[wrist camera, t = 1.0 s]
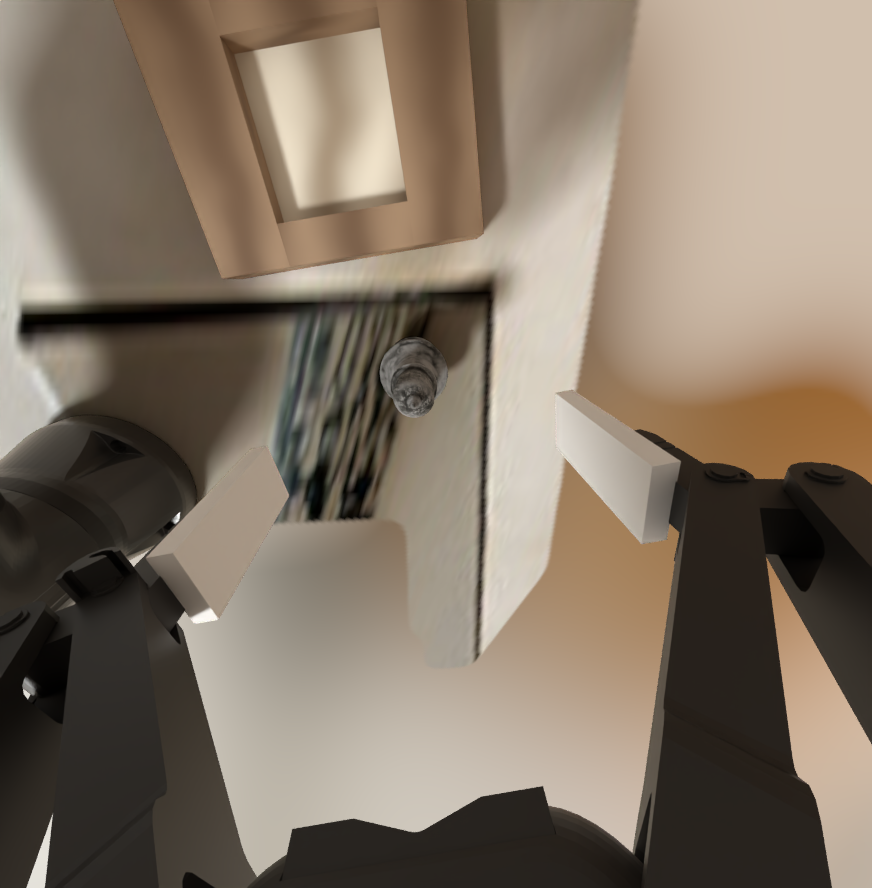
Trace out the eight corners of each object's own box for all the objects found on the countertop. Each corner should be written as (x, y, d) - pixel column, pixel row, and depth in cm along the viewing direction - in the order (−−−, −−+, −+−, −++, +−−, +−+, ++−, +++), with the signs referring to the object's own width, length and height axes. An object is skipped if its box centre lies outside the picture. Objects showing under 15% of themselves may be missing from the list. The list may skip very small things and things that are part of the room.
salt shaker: (405, 319, 30) (399, 340, 19) (456, 357, 32) (478, 395, 21) (371, 373, 32) (349, 418, 21) (422, 405, 34) (425, 463, 23)
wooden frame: (241, 279, 28) (221, 278, 25) (147, 22, 22) (106, -18, 19) (476, 238, 28) (483, 233, 25) (453, -35, 21) (459, -84, 18)
